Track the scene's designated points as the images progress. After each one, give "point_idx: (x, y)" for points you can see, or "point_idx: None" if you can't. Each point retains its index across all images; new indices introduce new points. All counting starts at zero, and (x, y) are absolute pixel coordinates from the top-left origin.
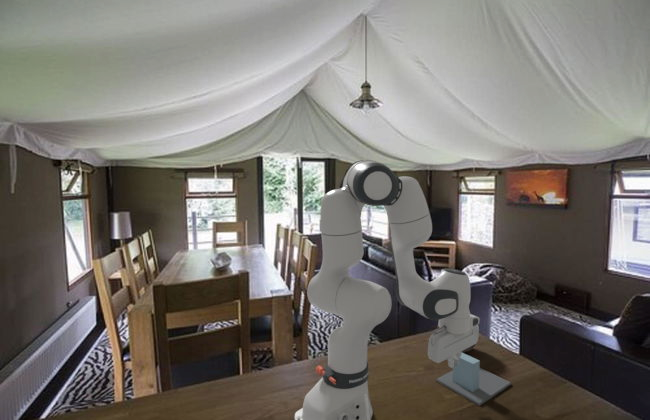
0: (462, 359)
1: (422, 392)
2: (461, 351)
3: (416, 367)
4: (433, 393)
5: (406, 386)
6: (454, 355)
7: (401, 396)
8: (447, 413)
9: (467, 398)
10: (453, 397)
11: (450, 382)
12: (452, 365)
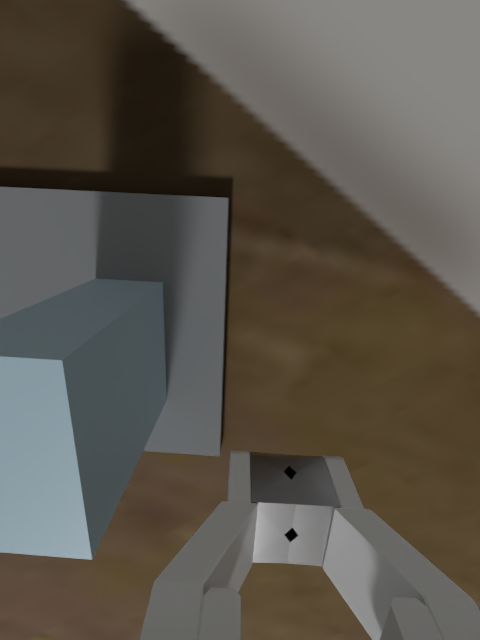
0: (83, 472)
1: (356, 440)
2: (150, 638)
3: None
4: (323, 406)
5: (370, 502)
6: (234, 589)
7: (457, 478)
8: (427, 278)
9: (226, 276)
10: (274, 329)
11: (186, 400)
12: (351, 481)
